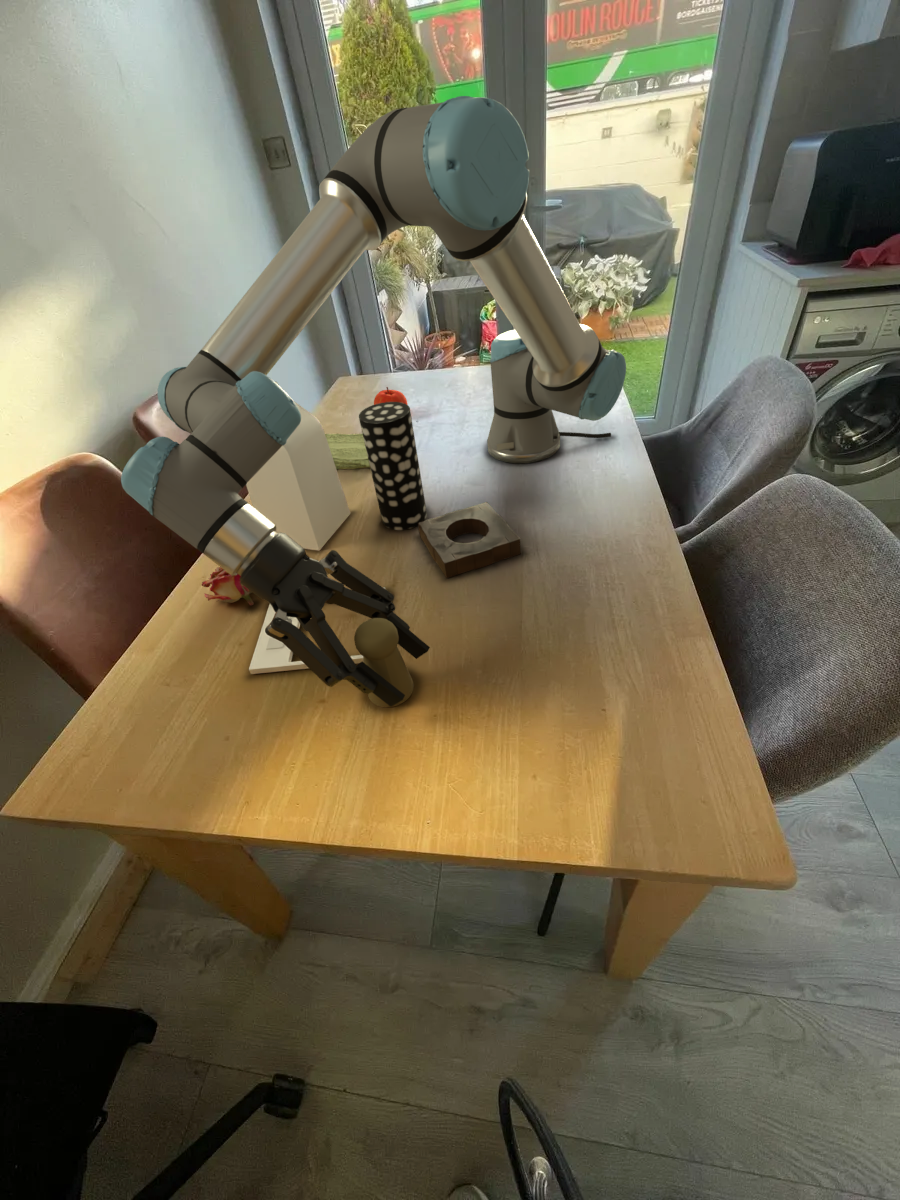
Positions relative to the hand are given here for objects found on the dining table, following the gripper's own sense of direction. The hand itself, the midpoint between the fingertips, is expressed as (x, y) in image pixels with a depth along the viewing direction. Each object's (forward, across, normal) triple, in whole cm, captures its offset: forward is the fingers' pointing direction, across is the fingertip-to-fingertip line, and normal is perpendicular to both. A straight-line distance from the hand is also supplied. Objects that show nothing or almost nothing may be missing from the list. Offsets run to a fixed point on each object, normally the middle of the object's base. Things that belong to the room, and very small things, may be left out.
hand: (410, 676), depth 68 cm
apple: (-25, -78, -30) cm, 87 cm away
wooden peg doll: (0, 0, -5) cm, 5 cm away
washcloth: (-27, -58, -32) cm, 72 cm away
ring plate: (0, -32, -5) cm, 32 cm away
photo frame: (-10, -7, -15) cm, 20 cm away
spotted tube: (-10, -38, -15) cm, 42 cm away
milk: (-22, -31, -27) cm, 47 cm away
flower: (-22, -10, -28) cm, 37 cm away
